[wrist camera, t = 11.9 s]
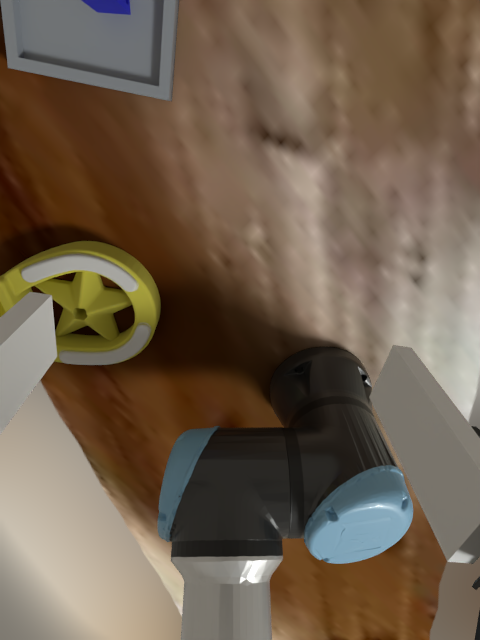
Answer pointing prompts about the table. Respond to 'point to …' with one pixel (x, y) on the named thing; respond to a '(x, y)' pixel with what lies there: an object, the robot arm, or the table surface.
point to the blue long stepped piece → (109, 6)
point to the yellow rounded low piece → (89, 299)
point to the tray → (95, 43)
